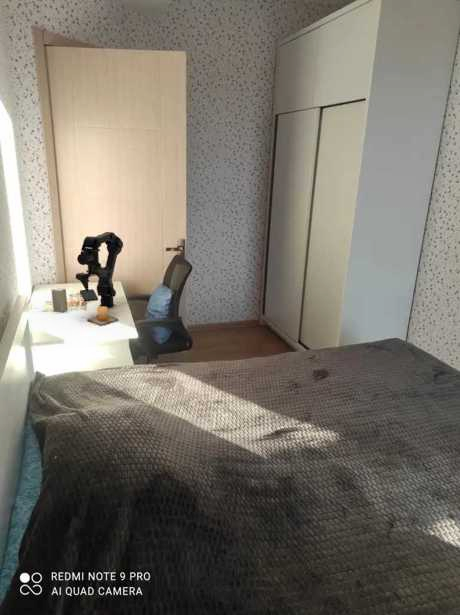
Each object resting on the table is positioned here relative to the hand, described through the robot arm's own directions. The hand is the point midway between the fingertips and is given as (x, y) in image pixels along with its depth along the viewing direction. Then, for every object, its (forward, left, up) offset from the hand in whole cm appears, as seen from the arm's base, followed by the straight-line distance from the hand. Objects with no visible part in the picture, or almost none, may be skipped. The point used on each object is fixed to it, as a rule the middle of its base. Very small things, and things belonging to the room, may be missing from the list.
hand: (94, 289), depth 242 cm
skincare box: (+10, -17, -13) cm, 24 cm away
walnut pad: (+5, +12, -13) cm, 18 cm away
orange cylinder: (+5, +12, -12) cm, 18 cm away
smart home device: (-17, -28, -14) cm, 35 cm away
